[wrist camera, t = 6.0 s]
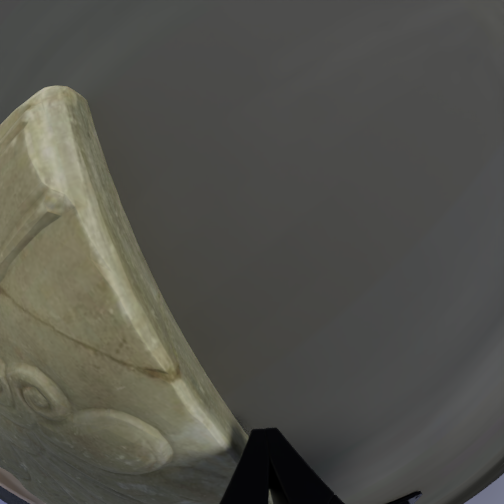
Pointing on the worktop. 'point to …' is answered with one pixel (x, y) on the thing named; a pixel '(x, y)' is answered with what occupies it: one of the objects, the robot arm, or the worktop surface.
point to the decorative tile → (93, 334)
